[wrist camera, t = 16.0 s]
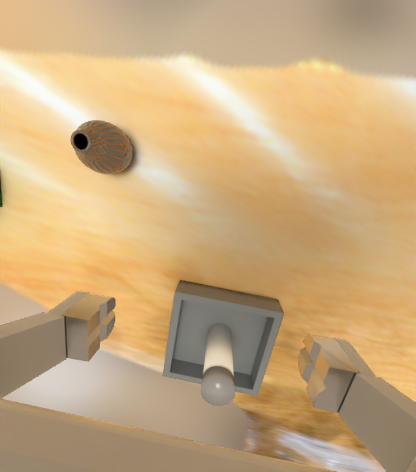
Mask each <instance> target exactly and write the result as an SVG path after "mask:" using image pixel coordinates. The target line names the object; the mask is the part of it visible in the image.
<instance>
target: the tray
mask: <svg viewBox="0 0 416 472" xmlns="http://www.w3.org/2000/svg"><path fill="white" fill-rule="evenodd" d="M283 315H284V312H283V310H282V308H281V306H280V304H279V301H278V300H277V299H272V298H267V297H262V296H257V295H252V294H247V293H242V292H237V291H232V290H227V289H222V288H217V287H212V286H207V285H201V284H196V283H191V282H186V281H181V280H180V282H179V284H178V287H177V289H176V291H175V296H174V303H173V310H172V317H171V323H170V330H169V337H168V343H167V350H166V357H165V364H164V370H163V376H165V377H170V378H175V379H180V380H184V381H189V382H194V383H198V384H202V377H203V371H204V362H205V353H206V344H207V335H208V330H209V328H210V327H211V326H213V325H216V324H222V325H225V326H227V327H228V328H229V329H230V331H231V335H232V355H233V374H234V387H235V391H236V392H241V393H245V394H250V395H255V396H258V393H259V390H260V387H261V384H262V381H263V378H264V375H265V372H266V368H267V365H268V362H269V359H270V356H271V353H272V350H273V346H274V343H275V340H276V337H277V334H278V331H279V328H280V324H281V321H282V318H283Z"/></svg>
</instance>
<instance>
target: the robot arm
mask: <svg viewBox="0 0 416 472" xmlns="http://www.w3.org/2000/svg"><path fill="white" fill-rule="evenodd" d="M114 307H115V299H114V297H109V296H104V295H100V294H95V293H90V292H85V291H77V292H76V293H74V294H73V295H71V296H70V297H69V298H67V299H66V300H64V301H63V302H62V303H60V304H59V305H57V306H56V307H55V308H53V309H52V310H50V311H49V312H48V313H44V312H42V313H40V314H36V315H33V316H30V317H26V318H23V319H20V320H16V321H14V322H10V323H7V324H3V325H0V472H336V471H331V470H327V469H322V468H318V467H313V466H308V465H304V464H299V463H294V462H290V461H285V460H280V459H276V458H271V457H267V456H262V455H257V454H253V453H248V452H243V451H239V450H233V449H229V448H225V447H220V446H216V445H211V444H206V443H202V442H197V441H193V440H188V439H184V438H179V437H174V436H170V435H165V434H160V433H156V432H152V431H147V430H142V429H138V428H133V427H128V426H124V425H119V424H115V423H110V422H106V421H101V420H96V419H92V418H87V417H83V416H78V415H74V414H69V413H64V412H60V411H55V410H50V409H46V408H41V407H37V406H32V405H28V404H23V403H18V402H13V401H9V400H4V399H2V398H3V397H4V396H6V395H8V394H9V393H11V392H13V391H14V390H16V389H17V388H19V387H21V386H22V385H24V384H26V383H27V382H29V381H31V380H32V379H34V378H36V377H37V376H39V375H41V374H42V373H44V372H46V371H47V370H49V369H51V368H52V367H54V366H56V365H57V364H59V363H61V362H62V361H64V360H66V358H71V359H77V360H83V361H89V360H90V359H91V358H92V356H93V355H94V354H95V353H96V351H97V350H98V349H99V348H100V342H101V341H103V340H105V339H107V337H108V336H109V334H110V333H111V331H112V329H113V327H114V323H115V314H114V313H113V311H112V310H113V309H114ZM303 342H304V345H305V348H303V349H302V350H301V351H300V353H299V357H298V366H299V371H300V374H301V377H302V378H303V379H304V380H305V381H306V382H307V383H308V385H307V388H306V390H307V392H308V395H309V397H310V400H311V402H312V405H313V407H314V408H318V409H323V410H327V411H331V412H335V413H339V414H338V415H339V416H340V417H341V418H342V420H343V421H344V422H345V423H346V424H347V426H348V427H349V428H350V429H351V430H352V431H353V433H354V434H355V435H356V436H357V437H358V438H359V440H360V441H361V442H362V443H363V444H364V445H365V447H366V448H367V449H368V450H369V451H370V453H371V454H372V455H373V456H374V457H375V458H376V460H377V461H378V462H379V463H380V464H381V465H382V467H383V468H384V469H385V470H386V471H387V472H416V403H415V402H414V401H413V400H411V399H410V398H408V397H407V396H406V395H404V394H403V393H401V392H400V391H399V390H397V389H396V388H394V387H393V386H392V385H390V384H389V383H387V382H386V381H385V380H383V379H382V378H380V377H376V376H375V374H374V373H373V372H372V371H371V369H370V368H369V367H368V365H367V364H366V363H365V362H364V360H363V359H362V358H361V357H360V355H359V354H358V353H357V351H356V350H355V349H354V348H353V346H352V345H351V344H350V343H349V342H348V341H346V340H342V339H336V338H327V337H322V336H316V335H311V334H307V335H306V336H305V338H304V341H303Z"/></svg>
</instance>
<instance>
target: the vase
mask: <svg viewBox="0 0 416 472" xmlns="http://www.w3.org/2000/svg"><path fill="white" fill-rule="evenodd" d="M71 144H72V146H73V148H74V149H75V152H76V154H77V156H78V158H79V159H80V160H81V161H82V163H83V164H85V165H86V166H87V167H88V168H90V169H92V170H94V171H96V172H98V173H102V174H116V173H119V172H122V171H123V170H125V169H126V168H127V167H128V166H129V164H130V163H131V160H132V156H133V151H132V146H131V143H130V141H129V139H128V137H127V136H126V135H125V133H124V132H123V131H122V130H120V129H119V128H118V127H116V126H115V125H113V124H111V123H108V122H105V121H99V120H94V121H88V122H85V123H83V124H82V125H81V126H79V127H78V129H77V130H76V131H75V132H74V133H73V134H72V136H71Z"/></svg>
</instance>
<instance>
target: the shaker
mask: <svg viewBox="0 0 416 472" xmlns="http://www.w3.org/2000/svg"><path fill="white" fill-rule="evenodd" d="M201 395H202V397H203V398H204V399H205V401H207V402H208V403H210V404H212V405H216V406H217V405H218V406H222V405H226V404H228V403H230V402H231V401H232V400H233V399H234V396H235V387H234V374H233V355H232V335H231V331H230V329H229V328H228V327H227V326H225V325H222V324H216V325H213V326H211V327H210V328H209V330H208V335H207V344H206V353H205V362H204V371H203V377H202V386H201Z"/></svg>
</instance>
